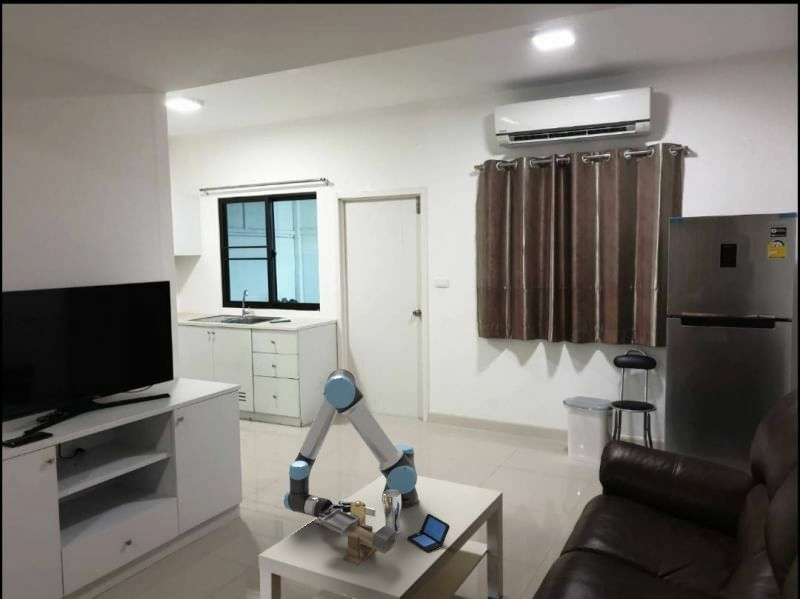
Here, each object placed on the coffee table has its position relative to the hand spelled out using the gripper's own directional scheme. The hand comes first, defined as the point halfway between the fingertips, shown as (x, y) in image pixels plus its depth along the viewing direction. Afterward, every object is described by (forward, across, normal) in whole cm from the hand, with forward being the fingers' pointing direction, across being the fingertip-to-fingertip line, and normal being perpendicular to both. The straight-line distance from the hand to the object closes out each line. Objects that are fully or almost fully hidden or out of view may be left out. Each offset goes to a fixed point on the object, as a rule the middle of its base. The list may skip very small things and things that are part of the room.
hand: (365, 520), depth 222 cm
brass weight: (-3, 0, -6) cm, 7 cm away
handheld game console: (+22, -8, -6) cm, 24 cm away
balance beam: (+5, +12, 0) cm, 13 cm away
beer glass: (+7, -8, -6) cm, 12 cm away
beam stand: (+6, +12, -6) cm, 15 cm away
